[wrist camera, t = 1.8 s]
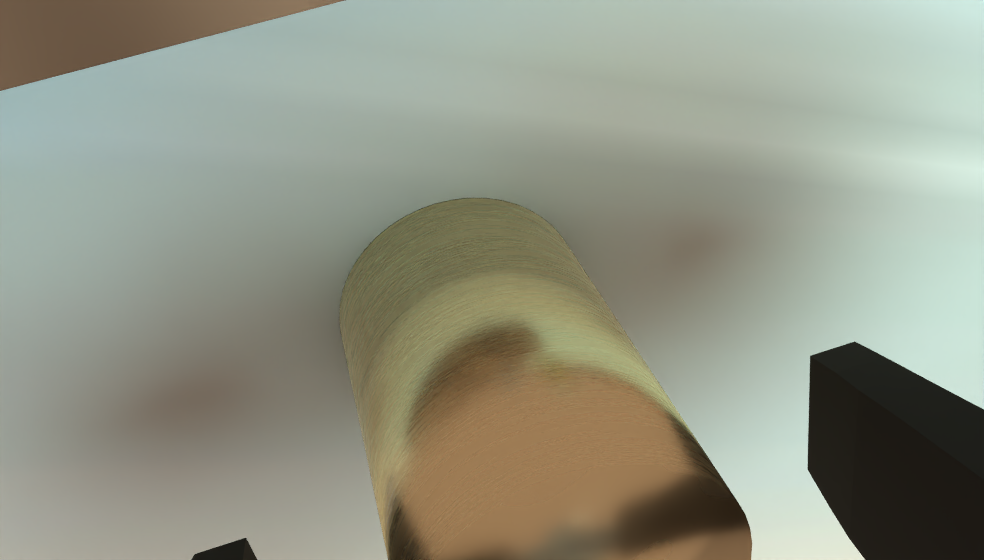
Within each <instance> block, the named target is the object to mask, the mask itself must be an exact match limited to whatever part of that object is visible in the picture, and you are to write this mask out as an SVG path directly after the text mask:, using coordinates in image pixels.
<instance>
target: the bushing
mask: <svg viewBox="0 0 984 560" xmlns="http://www.w3.org/2000/svg"><path fill="white" fill-rule="evenodd" d="M339 321H340V331H341V336H342V341H343V345H344V350H345V355H346V360H347V365H348V369H349V374H350V379H351V384H352V388H353V393H354V398H355V403H356V408H357V412H358V417H359V422H360V427H361V432H362V436H363V441H364V446H365V451H366V455H367V460H368V465H369V470H370V475H371V479H372V484H373V489H374V494H375V498H376V503H377V508H378V513H379V518H380V522H381V527H382V532H383V537H384V541H385V546H386V551H387V556H388V560H751V551H752V540H751V532H750V527H749V524H748V521H747V518H746V515H745V513H744V512H743V510H742V508H741V507H740V505H739V503H738V502H737V500H736V499H735V497H734V496H733V494H732V493H731V491H730V490H729V488H728V487H727V485H726V484H725V482H724V481H723V479H722V478H721V476H720V475H719V473H718V472H717V470H716V469H715V467H714V466H713V464H712V463H711V461H710V460H709V458H708V456H707V455H706V453H705V452H704V450H703V449H702V447H701V446H700V444H699V443H698V441H697V440H696V438H695V437H694V435H693V434H692V432H691V431H690V429H689V428H688V426H687V425H686V423H685V422H684V420H683V419H682V417H681V416H680V414H679V413H678V411H677V410H676V408H675V407H674V405H673V404H672V402H671V401H670V399H669V398H668V396H667V395H666V393H665V392H664V390H663V389H662V387H661V386H660V384H659V383H658V381H657V380H656V378H655V377H654V375H653V374H652V372H651V371H650V369H649V368H648V366H647V365H646V363H645V361H644V360H643V358H642V357H641V355H640V354H639V352H638V351H637V349H636V348H635V346H634V345H633V343H632V342H631V340H630V339H629V337H628V336H627V334H626V333H625V331H624V330H623V328H622V327H621V325H620V324H619V322H618V321H617V319H616V318H615V316H614V315H613V313H612V312H611V310H610V309H609V307H608V306H607V304H606V303H605V301H604V300H603V298H602V297H601V295H600V294H599V292H598V291H597V289H596V288H595V286H594V285H593V283H592V282H591V280H590V279H589V277H588V276H587V274H586V273H585V271H584V269H583V268H582V266H581V265H580V263H579V262H578V260H577V259H576V257H575V256H574V254H573V253H572V251H571V250H570V248H569V247H568V245H567V244H566V242H565V241H564V239H563V238H562V236H561V235H560V234H559V233H558V232H557V231H556V230H555V228H554V227H553V226H552V225H550V224H549V223H548V222H547V221H546V220H544V219H543V218H542V217H540V216H539V215H537V214H535V213H534V212H532V211H531V210H528V209H526V208H524V207H521V206H519V205H517V204H513V203H510V202H506V201H502V200H496V199H488V198H465V199H455V200H450V201H445V202H441V203H437V204H434V205H431V206H428V207H425V208H422V209H420V210H418V211H416V212H413V213H411V214H409V215H407V216H405V217H404V218H402V219H400V220H399V221H397V222H396V223H394V224H393V225H391V226H390V227H388V228H387V229H386V230H385V231H384V232H382V233H381V234H380V235H379V236H378V237H376V238H375V240H374V241H373V242H372V243H371V244H370V245H369V246H368V247H367V248H366V249H365V250H364V252H363V253H362V254H361V256H360V257H359V259H358V260H357V261H356V263H355V265H354V266H353V268H352V270H351V272H350V274H349V276H348V278H347V281H346V284H345V286H344V289H343V293H342V297H341V302H340V313H339Z"/></svg>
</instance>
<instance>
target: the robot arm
mask: <svg viewBox="0 0 984 560" xmlns="http://www.w3.org/2000/svg"><path fill="white" fill-rule="evenodd" d="M808 471H809V472H810V474H811V476H812V478H813V479H814V481H815V483H816V484H817V486H818V488H819V490H820V491H821V493H822V495H823V496H824V498H825V500H826V502H827V503H828V505H829V507H830V508H831V510H832V512H833V513H834V515H835V516H836V518H837V520H838V521H839V523H840V524H841V526H842V528H843V529H844V531H845V532H846V534H847V536H848V537H849V539H850V540H851V541H852V543H853V544H854V545H855V547H856V548H857V549H858V551H859V552H860V553H861V555H862V556H863V557H864V558H865V560H984V409H982V408H980V407H978V406H976V405H974V404H972V403H970V402H968V401H966V400H964V399H963V398H961V397H959V396H957V395H955V394H953V393H951V392H949V391H947V390H946V389H944V388H942V387H940V386H938V385H936V384H934V383H932V382H930V381H929V380H927V379H925V378H923V377H921V376H919V375H917V374H915V373H914V372H912V371H910V370H908V369H906V368H904V367H902V366H901V365H899V364H897V363H895V362H893V361H891V360H889V359H887V358H886V357H884V356H882V355H880V354H878V353H876V352H874V351H872V350H870V349H868V348H866V347H864V346H862V345H860V344H858V343H856V342H852V343H849V344H846V345H843V346H840V347H837V348H833V349H830V350H827V351H824V352H821V353H818V354H815V355H812V356H810V391H809V434H808ZM191 560H257V558H256V556H255V554H254V553H253V551H252V549H251V547H250V545H249V543H248V541H247V539H246V538H244V539H241V540H237V541H234V542H231V543H228V544H225V545H222V546H219V547H216V548H213V549H209V550H206V551H203V552H200V553H197V554H195V555H194V556H193V558H192V559H191Z"/></svg>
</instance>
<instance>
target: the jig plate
mask: <svg viewBox="0 0 984 560" xmlns="http://www.w3.org/2000/svg"><path fill="white" fill-rule="evenodd" d="M340 1H344V0H0V91H1V90H5V89H9V88H13V87H17V86H20V85H24V84H28V83H32V82H36V81H39V80H43V79H47V78H51V77H55V76H58V75H62V74H66V73H70V72H74V71H77V70H81V69H85V68H89V67H93V66H97V65H100V64H104V63H108V62H112V61H116V60H119V59H123V58H127V57H131V56H135V55H138V54H142V53H146V52H150V51H154V50H157V49H161V48H165V47H169V46H173V45H177V44H180V43H184V42H188V41H192V40H196V39H199V38H203V37H207V36H211V35H215V34H218V33H222V32H226V31H230V30H234V29H237V28H241V27H245V26H249V25H253V24H256V23H260V22H264V21H268V20H272V19H276V18H279V17H283V16H287V15H291V14H295V13H298V12H302V11H306V10H310V9H314V8H317V7H321V6H325V5H329V4H333V3H336V2H340Z"/></svg>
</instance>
